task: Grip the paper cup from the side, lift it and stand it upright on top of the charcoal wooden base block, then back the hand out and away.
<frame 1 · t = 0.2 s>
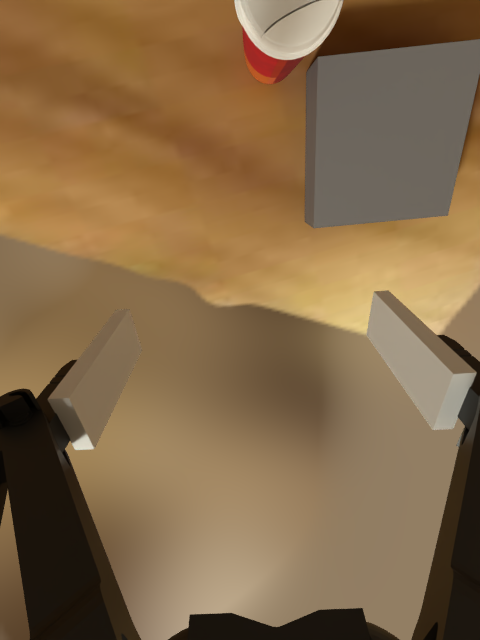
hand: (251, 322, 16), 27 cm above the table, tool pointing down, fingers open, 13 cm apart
paper cup: (269, 53, 32), on the table
base block: (370, 147, 36), on the table
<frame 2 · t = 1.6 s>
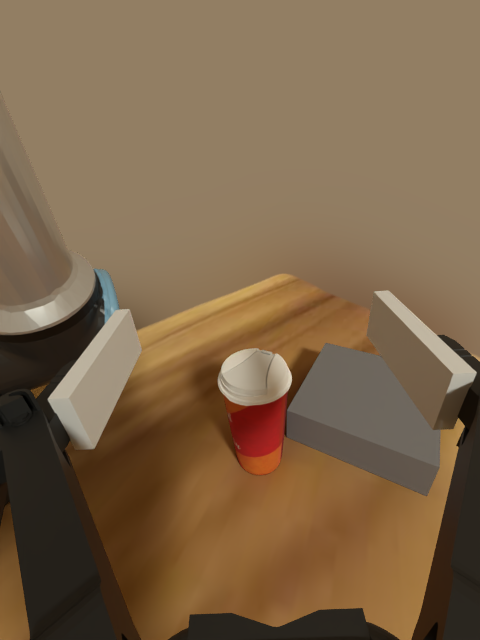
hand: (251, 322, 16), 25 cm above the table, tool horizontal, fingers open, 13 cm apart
paper cup: (259, 455, 37), on the table
base block: (363, 416, 41), on the table
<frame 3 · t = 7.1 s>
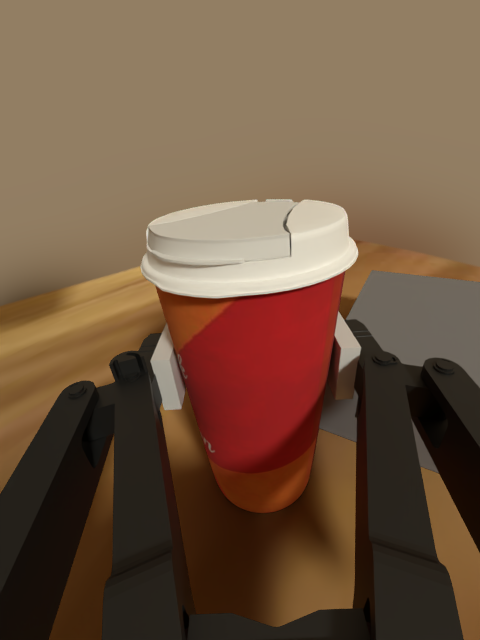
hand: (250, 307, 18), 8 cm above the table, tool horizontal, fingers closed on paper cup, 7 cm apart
paper cup: (261, 466, 17), on the table, touching gripper
base block: (460, 387, 21), on the table
when the fingers open (14 cm above the table, at t = 11.7 s): paper cup drops 1 cm, resting on base block.
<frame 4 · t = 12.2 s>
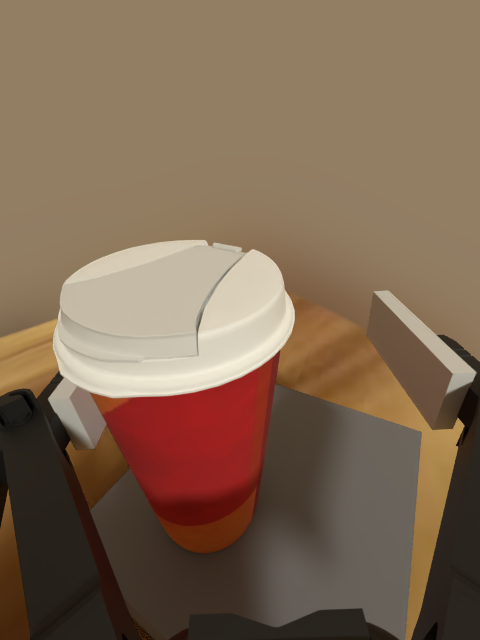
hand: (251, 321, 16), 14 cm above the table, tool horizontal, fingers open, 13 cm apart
paper cup: (208, 498, 17), point 5 cm above the table, touching base block
base block: (265, 522, 20), on the table
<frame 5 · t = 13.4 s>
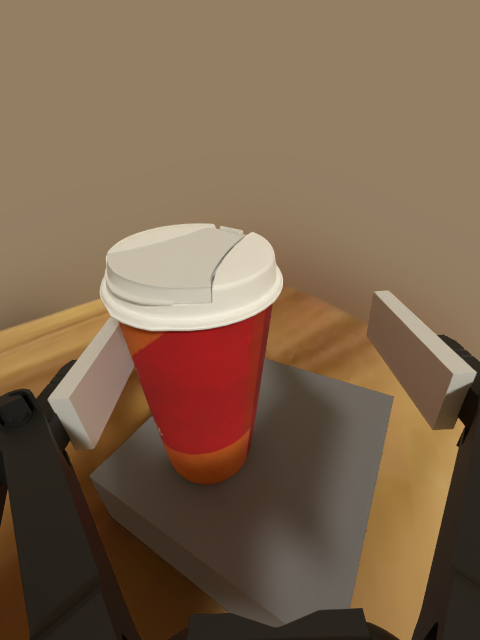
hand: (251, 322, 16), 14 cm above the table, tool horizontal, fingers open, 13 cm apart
paper cup: (209, 445, 20), point 5 cm above the table, touching base block, gripper
base block: (258, 474, 24), on the table
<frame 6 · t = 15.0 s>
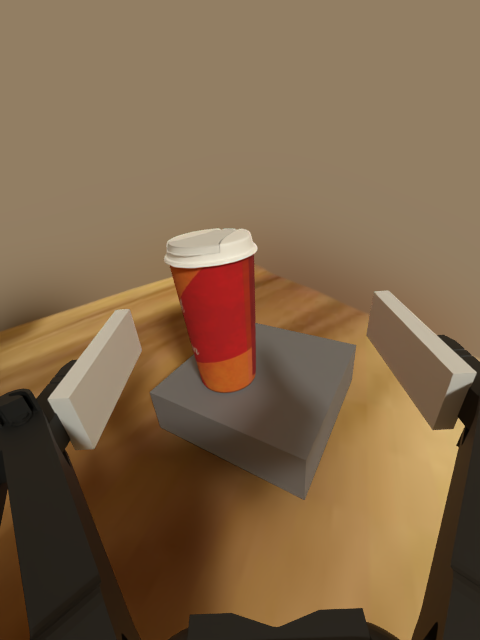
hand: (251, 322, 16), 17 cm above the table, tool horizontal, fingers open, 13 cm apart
paper cup: (228, 376, 30), point 5 cm above the table, touching base block
base block: (261, 402, 33), on the table
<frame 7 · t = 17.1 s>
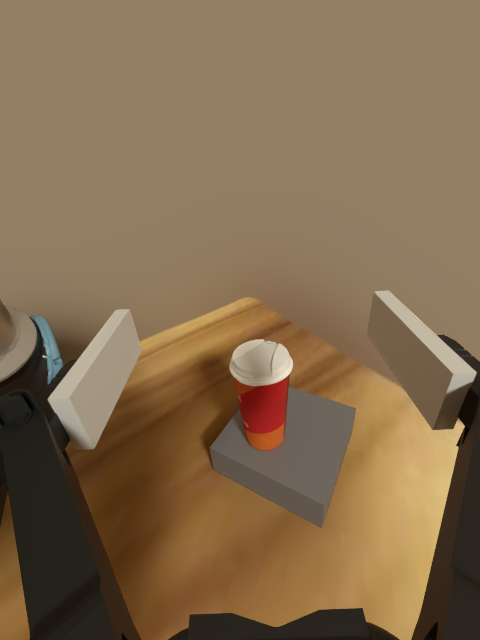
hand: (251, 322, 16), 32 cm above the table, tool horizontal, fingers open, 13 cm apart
paper cup: (264, 435, 42), point 5 cm above the table, touching base block
base block: (286, 449, 45), on the table
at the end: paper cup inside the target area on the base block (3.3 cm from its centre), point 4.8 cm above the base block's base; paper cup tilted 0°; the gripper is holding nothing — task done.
